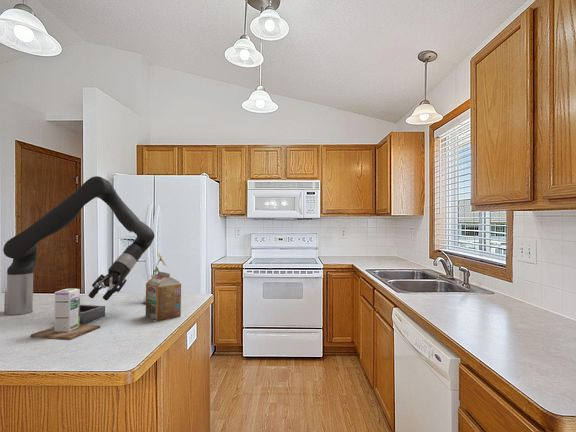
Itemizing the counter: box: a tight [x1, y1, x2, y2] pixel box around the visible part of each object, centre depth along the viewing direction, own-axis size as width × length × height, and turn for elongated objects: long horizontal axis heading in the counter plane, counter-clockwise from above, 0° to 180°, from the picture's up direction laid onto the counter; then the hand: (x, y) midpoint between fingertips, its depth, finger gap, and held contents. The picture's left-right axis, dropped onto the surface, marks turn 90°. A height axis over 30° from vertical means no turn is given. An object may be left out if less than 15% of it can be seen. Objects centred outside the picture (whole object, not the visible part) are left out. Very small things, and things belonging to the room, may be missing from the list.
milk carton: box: [145, 270, 182, 323], centre depth 146 cm, size 11×11×19 cm
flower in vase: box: [142, 252, 167, 303], centre depth 173 cm, size 13×11×25 cm
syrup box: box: [54, 287, 81, 332], centre depth 125 cm, size 6×6×14 cm
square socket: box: [80, 304, 106, 325], centre depth 140 cm, size 12×12×4 cm
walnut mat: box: [30, 324, 101, 341], centre depth 124 cm, size 16×14×1 cm
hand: (97, 298), depth 135 cm, fingers open, 8 cm apart
